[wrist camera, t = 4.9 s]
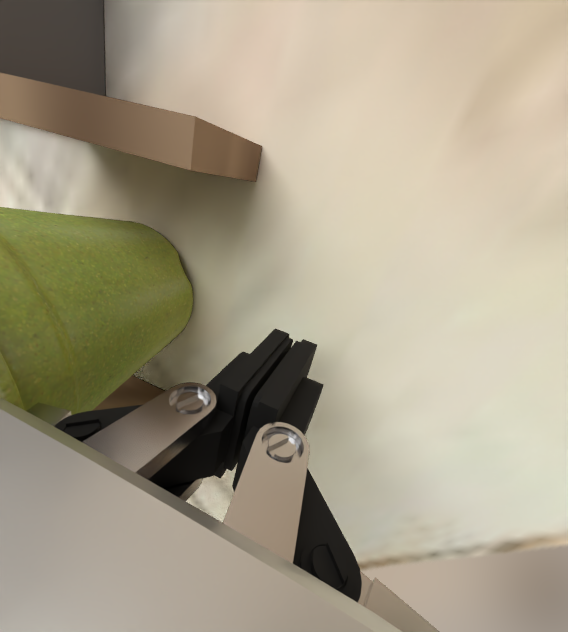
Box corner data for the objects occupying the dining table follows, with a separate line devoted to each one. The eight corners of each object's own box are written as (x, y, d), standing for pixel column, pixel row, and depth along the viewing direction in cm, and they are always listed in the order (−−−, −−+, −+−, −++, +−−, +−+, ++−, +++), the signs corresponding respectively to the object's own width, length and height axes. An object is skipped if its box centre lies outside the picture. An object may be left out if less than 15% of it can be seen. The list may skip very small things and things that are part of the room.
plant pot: (254, 237, 12) (0, 292, 4) (200, 398, 16) (23, 570, 8) (79, 150, 13) (-339, 76, 6) (71, 318, 18) (-177, 403, 10)
